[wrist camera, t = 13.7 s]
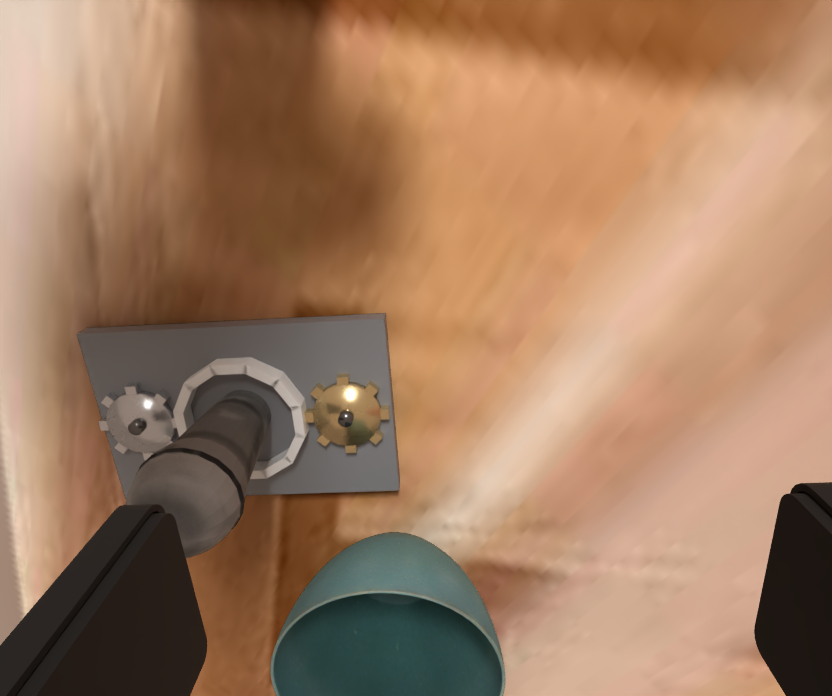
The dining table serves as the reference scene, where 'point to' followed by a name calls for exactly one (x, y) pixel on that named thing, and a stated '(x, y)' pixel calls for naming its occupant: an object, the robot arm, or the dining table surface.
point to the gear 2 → (347, 413)
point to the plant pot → (389, 627)
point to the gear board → (257, 390)
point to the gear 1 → (139, 420)
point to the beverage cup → (206, 470)
